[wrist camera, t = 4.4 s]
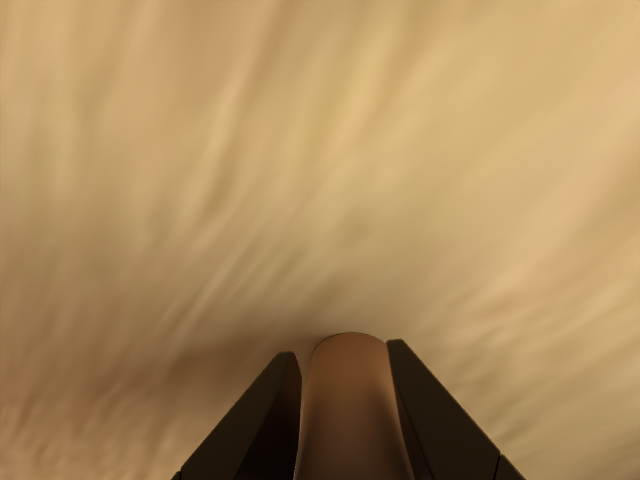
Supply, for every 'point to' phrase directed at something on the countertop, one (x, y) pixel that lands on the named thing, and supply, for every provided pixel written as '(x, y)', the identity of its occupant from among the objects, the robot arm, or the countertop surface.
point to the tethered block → (351, 414)
